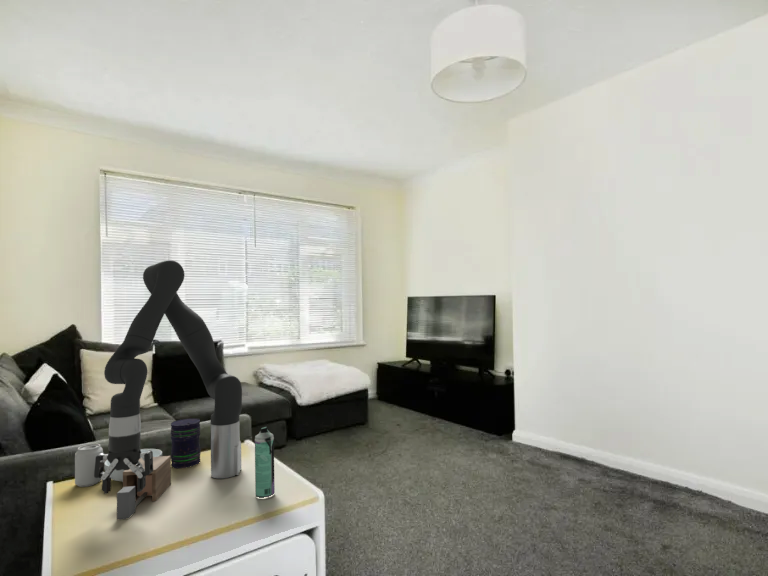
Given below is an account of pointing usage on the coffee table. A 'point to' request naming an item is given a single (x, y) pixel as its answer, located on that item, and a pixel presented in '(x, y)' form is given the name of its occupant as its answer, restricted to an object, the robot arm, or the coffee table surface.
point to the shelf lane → (153, 476)
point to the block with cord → (131, 498)
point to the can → (86, 465)
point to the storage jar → (185, 443)
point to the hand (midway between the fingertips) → (123, 491)
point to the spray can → (264, 464)
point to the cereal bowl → (119, 473)
